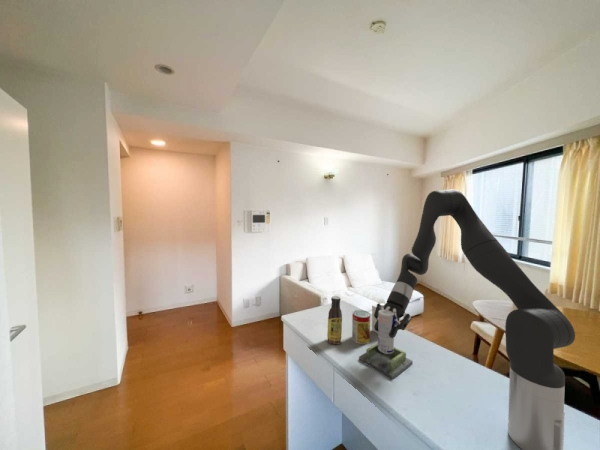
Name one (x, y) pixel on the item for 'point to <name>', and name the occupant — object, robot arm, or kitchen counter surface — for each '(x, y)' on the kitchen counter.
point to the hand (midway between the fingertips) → (383, 333)
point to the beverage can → (385, 331)
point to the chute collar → (386, 361)
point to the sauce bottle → (334, 321)
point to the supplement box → (374, 317)
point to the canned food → (361, 326)
